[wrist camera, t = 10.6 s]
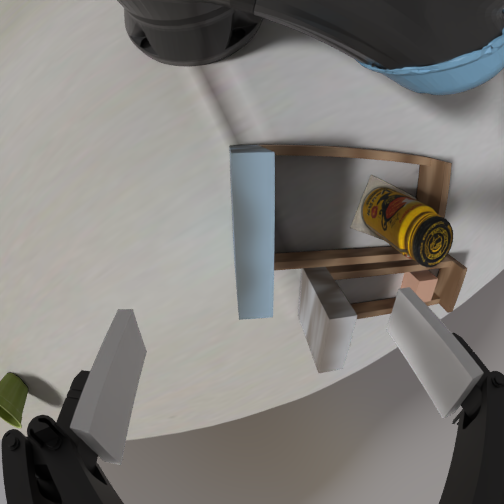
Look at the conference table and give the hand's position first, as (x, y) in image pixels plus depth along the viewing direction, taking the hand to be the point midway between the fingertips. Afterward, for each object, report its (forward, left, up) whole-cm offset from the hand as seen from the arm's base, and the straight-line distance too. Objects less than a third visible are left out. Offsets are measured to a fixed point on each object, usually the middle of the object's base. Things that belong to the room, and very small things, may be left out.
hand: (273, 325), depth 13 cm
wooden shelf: (0, +11, -20) cm, 23 cm away
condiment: (+1, +18, -21) cm, 28 cm away
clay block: (+12, +26, -21) cm, 35 cm away
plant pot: (+38, -59, -21) cm, 73 cm away
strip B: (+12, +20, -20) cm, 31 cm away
